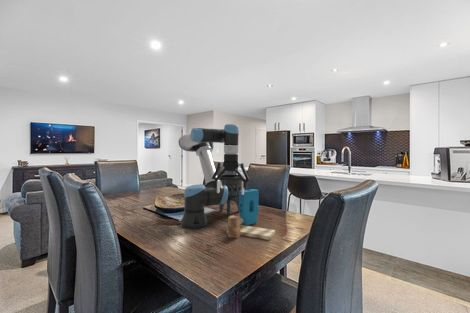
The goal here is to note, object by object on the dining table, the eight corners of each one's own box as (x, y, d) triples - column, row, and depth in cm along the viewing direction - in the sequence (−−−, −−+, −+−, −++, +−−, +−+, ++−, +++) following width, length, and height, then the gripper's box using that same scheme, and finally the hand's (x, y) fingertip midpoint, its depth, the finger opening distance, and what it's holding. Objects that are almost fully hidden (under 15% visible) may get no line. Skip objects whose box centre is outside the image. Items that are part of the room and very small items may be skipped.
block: (243, 226, 132) (243, 192, 131) (238, 223, 136) (238, 190, 135) (259, 222, 139) (259, 190, 138) (253, 220, 143) (254, 189, 142)
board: (226, 232, 121) (226, 229, 121) (234, 226, 130) (234, 223, 130) (269, 240, 111) (269, 236, 111) (275, 233, 120) (275, 229, 120)
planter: (210, 213, 158) (210, 176, 158) (227, 207, 174) (227, 173, 174) (233, 218, 147) (233, 178, 146) (248, 211, 163) (248, 175, 163)
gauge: (227, 237, 115) (227, 217, 115) (237, 229, 126) (237, 211, 125) (236, 238, 113) (236, 218, 112) (245, 231, 124) (245, 212, 123)
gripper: (206, 153, 119) (205, 193, 120) (253, 154, 113) (252, 196, 114) (211, 153, 126) (210, 190, 127) (255, 154, 120) (254, 193, 121)
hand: (230, 193), depth 121 cm, fingers open, 13 cm apart
